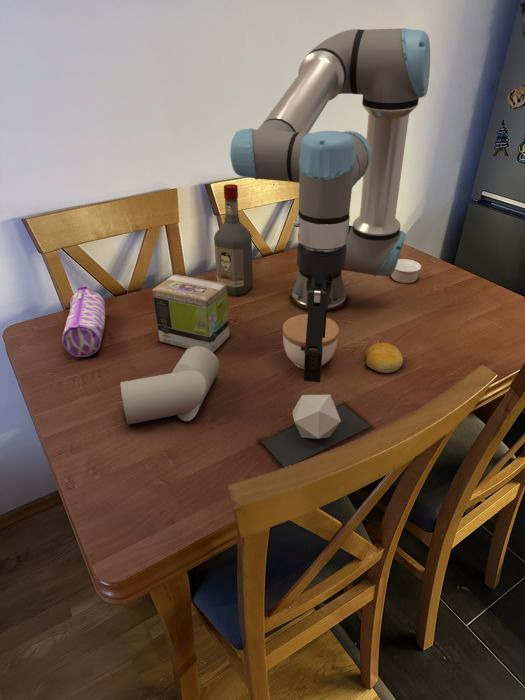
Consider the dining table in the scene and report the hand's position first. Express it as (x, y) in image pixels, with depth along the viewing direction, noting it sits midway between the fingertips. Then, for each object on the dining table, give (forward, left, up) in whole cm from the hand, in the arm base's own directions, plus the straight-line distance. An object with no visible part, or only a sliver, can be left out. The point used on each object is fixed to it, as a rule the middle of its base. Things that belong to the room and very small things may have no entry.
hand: (315, 357), depth 87 cm
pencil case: (-24, -58, -17) cm, 65 cm away
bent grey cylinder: (-2, -29, -17) cm, 34 cm away
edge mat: (+2, +1, -17) cm, 17 cm away
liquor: (-56, -27, -17) cm, 65 cm away
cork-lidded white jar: (-22, -2, -17) cm, 28 cm away
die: (+2, +1, -17) cm, 17 cm away
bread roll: (-24, +15, -17) cm, 33 cm away
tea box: (-27, -31, -17) cm, 45 cm away
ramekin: (-71, +23, -17) cm, 77 cm away
